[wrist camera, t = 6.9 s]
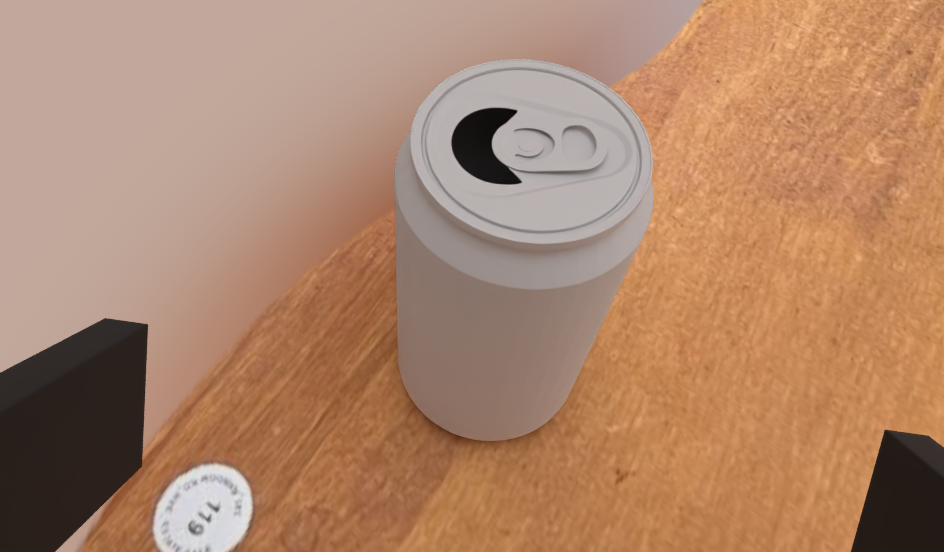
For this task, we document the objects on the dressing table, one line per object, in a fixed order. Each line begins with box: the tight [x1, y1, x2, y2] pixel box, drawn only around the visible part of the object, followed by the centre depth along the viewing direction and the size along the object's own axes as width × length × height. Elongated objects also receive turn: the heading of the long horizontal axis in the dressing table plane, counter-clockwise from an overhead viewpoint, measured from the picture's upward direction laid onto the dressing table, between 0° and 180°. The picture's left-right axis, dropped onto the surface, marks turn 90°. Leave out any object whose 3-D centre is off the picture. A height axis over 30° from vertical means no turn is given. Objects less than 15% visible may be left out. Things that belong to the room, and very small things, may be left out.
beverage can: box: [394, 59, 654, 441], centre depth 22 cm, size 6×6×12 cm
